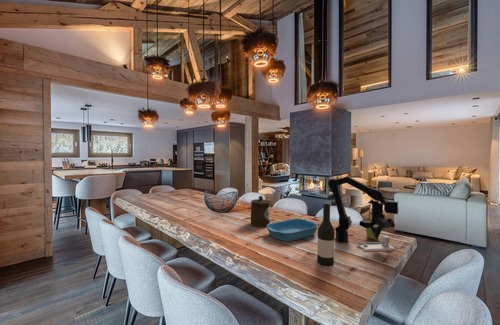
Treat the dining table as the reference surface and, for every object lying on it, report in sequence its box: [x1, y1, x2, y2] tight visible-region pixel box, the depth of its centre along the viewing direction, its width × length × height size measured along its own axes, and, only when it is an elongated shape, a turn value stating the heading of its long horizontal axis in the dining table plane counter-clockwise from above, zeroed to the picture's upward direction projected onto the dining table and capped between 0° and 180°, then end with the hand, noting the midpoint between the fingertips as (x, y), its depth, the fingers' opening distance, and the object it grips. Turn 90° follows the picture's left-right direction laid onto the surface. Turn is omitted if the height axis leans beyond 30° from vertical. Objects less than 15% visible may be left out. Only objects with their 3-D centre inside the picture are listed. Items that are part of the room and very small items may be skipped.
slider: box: [380, 235, 391, 246], centre depth 137 cm, size 3×4×5 cm
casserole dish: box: [266, 218, 319, 242], centre depth 157 cm, size 37×22×7 cm, turn 123°
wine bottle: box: [316, 202, 336, 268], centre depth 116 cm, size 8×8×30 cm
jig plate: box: [356, 241, 396, 252], centre depth 137 cm, size 18×8×2 cm, turn 98°
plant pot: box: [365, 228, 377, 240], centre depth 154 cm, size 9×9×9 cm
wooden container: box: [250, 195, 271, 228], centre depth 180 cm, size 15×15×22 cm
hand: (376, 238), depth 136 cm, fingers closed
